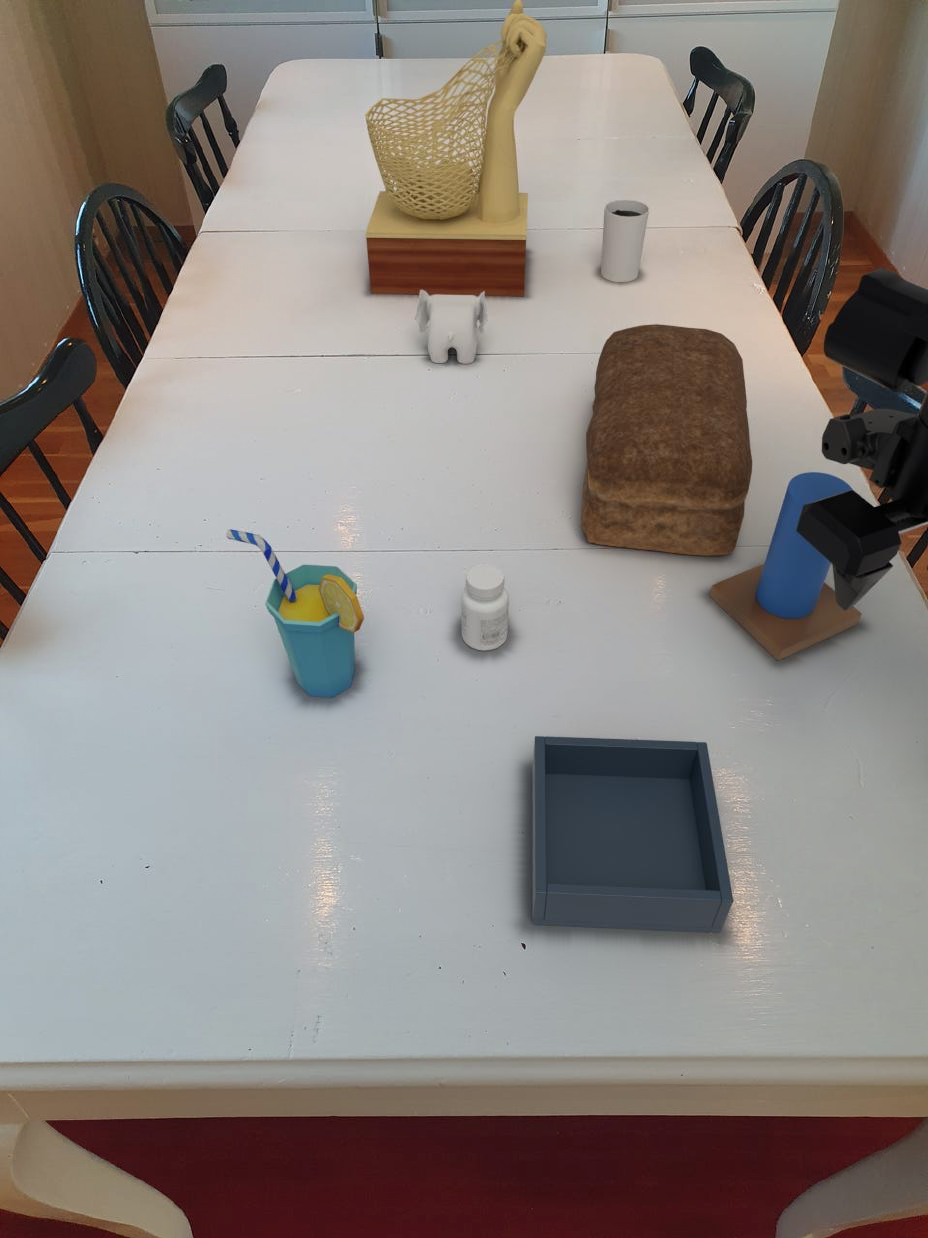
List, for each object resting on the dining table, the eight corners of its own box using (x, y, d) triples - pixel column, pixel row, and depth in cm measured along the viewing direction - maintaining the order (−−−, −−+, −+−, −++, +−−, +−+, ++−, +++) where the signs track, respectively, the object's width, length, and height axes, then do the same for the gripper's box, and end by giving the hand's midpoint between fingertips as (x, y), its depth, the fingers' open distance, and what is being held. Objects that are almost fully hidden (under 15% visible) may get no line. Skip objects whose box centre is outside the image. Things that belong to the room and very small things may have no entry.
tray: (696, 777, 75) (706, 741, 72) (720, 933, 66) (733, 901, 62) (532, 770, 76) (534, 735, 72) (532, 925, 66) (535, 893, 63)
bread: (729, 409, 114) (751, 310, 105) (738, 569, 93) (767, 463, 84) (593, 397, 116) (603, 299, 107) (572, 552, 95) (582, 446, 86)
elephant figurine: (490, 330, 129) (491, 269, 123) (486, 374, 120) (487, 310, 114) (423, 328, 129) (420, 268, 123) (415, 372, 121) (411, 309, 115)
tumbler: (802, 627, 85) (842, 519, 76) (746, 603, 87) (778, 495, 78) (823, 593, 88) (864, 485, 79) (768, 571, 90) (802, 464, 81)
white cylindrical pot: (599, 283, 139) (606, 216, 132) (596, 264, 144) (602, 199, 137) (643, 283, 139) (652, 216, 132) (638, 264, 144) (647, 199, 136)
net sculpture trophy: (536, 250, 148) (548, -7, 123) (535, 301, 135) (548, 27, 110) (384, 247, 149) (365, -7, 124) (369, 298, 136) (345, 26, 111)
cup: (231, 674, 84) (195, 551, 73) (281, 621, 88) (255, 498, 78) (359, 731, 79) (340, 608, 68) (404, 671, 84) (394, 548, 73)
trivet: (857, 624, 87) (862, 613, 86) (777, 661, 84) (781, 650, 83) (786, 563, 94) (789, 552, 92) (709, 595, 90) (711, 584, 89)
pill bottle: (515, 629, 87) (518, 570, 82) (492, 658, 85) (493, 599, 79) (477, 612, 89) (477, 553, 83) (452, 640, 86) (451, 581, 81)
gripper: (976, 338, 69) (906, 502, 80) (775, 393, 63) (730, 560, 74) (1102, 411, 61) (1006, 580, 73) (887, 481, 56) (819, 651, 67)
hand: (888, 589), depth 72 cm, fingers open, 9 cm apart
